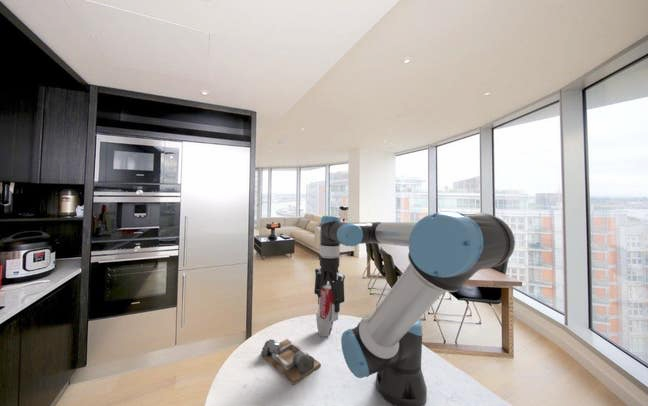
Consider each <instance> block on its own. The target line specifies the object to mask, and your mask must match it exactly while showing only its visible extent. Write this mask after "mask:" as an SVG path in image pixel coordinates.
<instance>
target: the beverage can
mask: <svg viewBox="0 0 648 406" xmlns="http://www.w3.org/2000/svg"><path fill="white" fill-rule="evenodd" d="M332 303H334V300H333V295H332V290H331V285H330V284H329V283H327V284H326V285H323V286H322V289H321V299H320V317H321V318H322V319H323V320H326V321H331V320H332Z"/></svg>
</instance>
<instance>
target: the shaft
mask: <svg viewBox="0 0 648 406" xmlns="http://www.w3.org/2000/svg"><path fill="white" fill-rule="evenodd" d="M275 340H276V339H275ZM275 340H274V339H269V340H266V341H265V343H264V345H263V347H262V350H261V351H262V355H261V357H262V358H264V357H266V358H267V357H268V356H269V355H270V354H272V353H275V354H278V355H280V350H281V348H282V343H280V342H277V341H275Z"/></svg>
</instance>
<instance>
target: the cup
mask: <svg viewBox="0 0 648 406" xmlns="http://www.w3.org/2000/svg"><path fill="white" fill-rule="evenodd" d="M315 314H316V315H315V317H316V318H315V319H316V321H315V322H316V325H317V326H316V328H317V332H318V335H319V336H320V337H324V338H327V337H329V336H331V333H332V330H333V325H334V322H332V320H331V321H326V320H323V319H322V318H321V317H320V315H319V307H318V308H317V309H316V310H315Z"/></svg>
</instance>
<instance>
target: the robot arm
mask: <svg viewBox="0 0 648 406" xmlns="http://www.w3.org/2000/svg"><path fill="white" fill-rule="evenodd" d="M319 242H320V244H319V246H320V247H319V256H320V257H319V266H320V267H318V268H315V270H314V272H315V279H314V280H315V282H314V290H313V291H314V292H313V293H314V295H317V298H318V299H317V304H318V308H319V315H320V299H321V289H322V286H323V285H326V284H330V285H331V290H332V295H333V300H334V303H332V322H333V323H334V322H336V321H339V312H340V308H341V307H340V305H341V304H342V303H345V278H346V276H345V274H340V271H339V267H340V257H339V256H340V250H341V249H340V247H341V245H343V246H345V247H357V246H358V245H360V244H361V245H363V244H380V245H392V246H400V247H408V254H407V257H408V258H407V259H408V261H409V264H408V265H407V267H406V268H405V269H404V271H403V272H402V274H401V275H400V276H399V278H398V279H397V280H396V282H395V283H394V285H393V286H392V287H391V289H390V290H389V291H388V292H387V294H386V296H385V297H384V298H383V300H382V301H381V302H380V304H379V305H378V306H377V308H376V309H375V310H374V312H373V313H371V314H367V315H365V316H363V318H362V319H360V321H359V322H358V324H357V325H356V327H353V328H348V329H347V330H345V331H344V332H342V335H341V338H340V340H341V341H340V344H341V350H342V355H343V359H344V361H345V363H346V365H347V367H348V370H349V371H350V373H352V374H353V376H354V377H356V378H358V379H363V378H365V377H366V378H368V377H370V376H372V375H374V374H376V377H375V386H376V389H377V391H378V393H379V394H380V396H381V397H382V398H383V399H384V400H385V401H386V402H388V403H389V404H390V405H394V406H424V405H425V403H426V401H427V396H428V394H427V391H428V390H427V385H426V381H425V376H424V374H423V370H422V357H423V356H422V353H423V350H422V349H423V336H424V334H423V324H422V322H421V321H420V319H421V318H422V317H423V315H425V313H426V312H427V311H428V310H429V309H430V308H431V307H432V306H433V305H434V304H435V302H437V301H438V299H439V298H440V297H441V296H442V295H444V293H445V292H447V293H448V292H449V293H455V292H457V291H459V290H460V289H461V288H462V287H463V286H464V285H465V284H466V283H467V282H468V281H469V280H470V279H471V278H472V277H473V276H475V274H476V273H477V272H479V271H481V270H486V269H490V268H494V267H499V266H500V265H502V264H504V263H505V262H507V261H508V260H509V258H510V257H511V256H512V254H513V253H514V250H515V245H516V240H515V235H514V233H513V231H512V229H511V228H510V226H509V225H508V224H507V223H506V222H505V221H504V220H502V219H501V218H500V217H497V216H495V215H493V214H490V213H486V212H459V211H452V210H451V211H449V210H448V211H440V212H433V213H429V214H428V215H425V216H424V217H422V218H421V219H419V220H417V222H416V221H413V222H412V221H411V222H409V221H407V222H405V221H404V222H402V221H401V222H400V221H398V222H395V221H393V222H387V221H385V222H381V221H376V222H342V220H341V217H340V216H339V215H323V216H321V218H320V241H319Z"/></svg>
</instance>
